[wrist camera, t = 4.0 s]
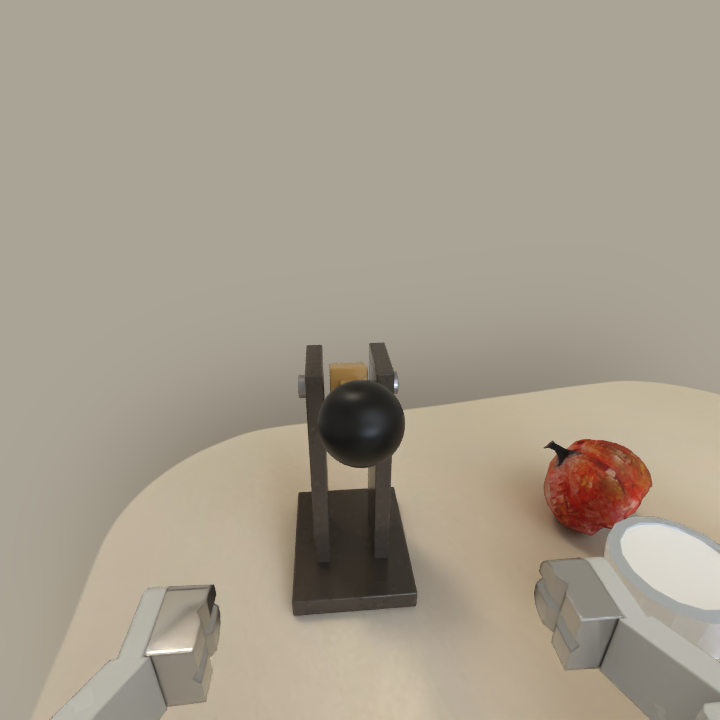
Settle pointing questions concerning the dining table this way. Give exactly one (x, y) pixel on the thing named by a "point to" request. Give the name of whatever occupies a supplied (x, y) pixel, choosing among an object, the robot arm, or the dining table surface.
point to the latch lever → (359, 418)
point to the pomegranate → (594, 484)
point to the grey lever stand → (348, 520)
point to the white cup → (670, 575)
